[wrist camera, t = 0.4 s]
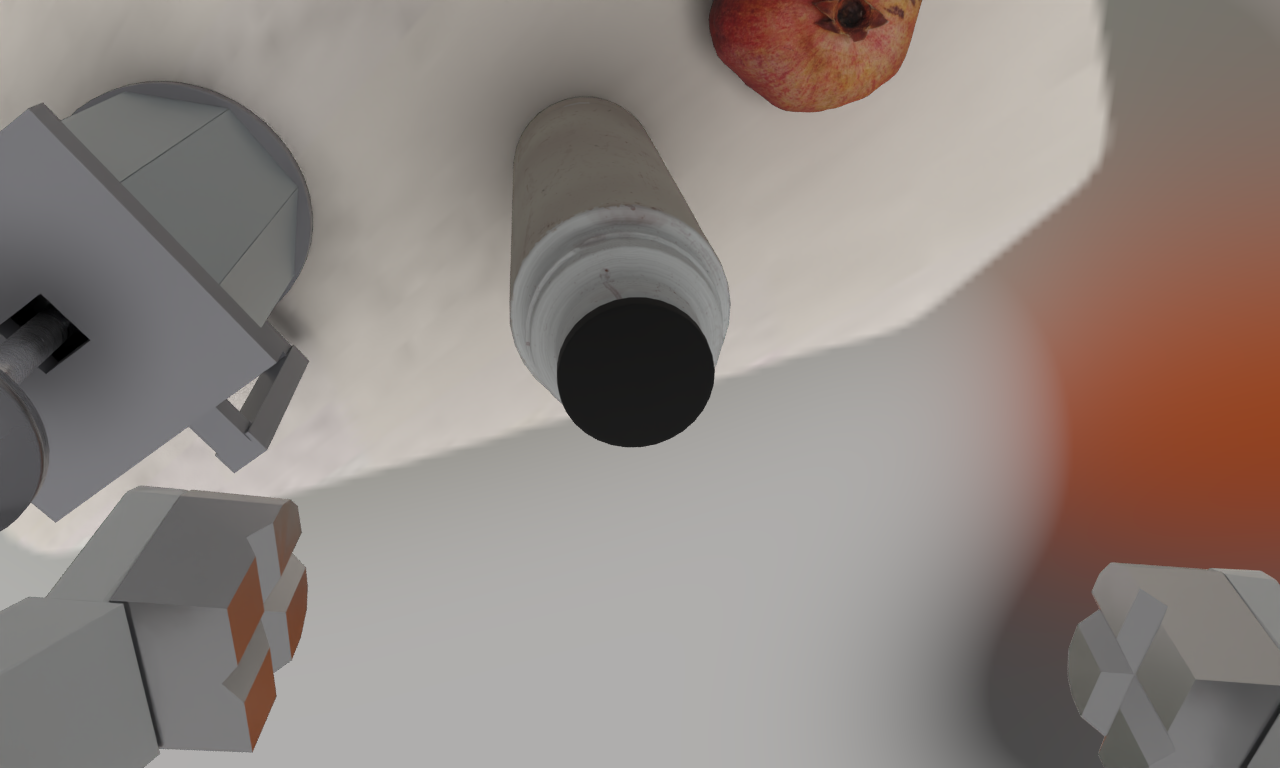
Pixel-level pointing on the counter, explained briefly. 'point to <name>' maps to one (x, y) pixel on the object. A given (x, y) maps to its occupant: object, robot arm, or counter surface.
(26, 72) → the counter surface
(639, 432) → the thermos bottle
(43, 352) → the brown candle holder
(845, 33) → the fruit
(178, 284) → the press carafe
